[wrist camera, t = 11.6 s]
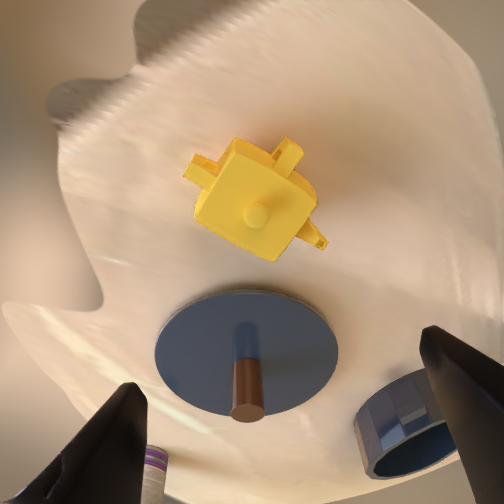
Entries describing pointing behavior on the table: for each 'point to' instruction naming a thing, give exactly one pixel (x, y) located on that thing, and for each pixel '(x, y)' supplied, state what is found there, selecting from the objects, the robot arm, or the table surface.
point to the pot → (402, 429)
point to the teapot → (256, 198)
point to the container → (154, 475)
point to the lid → (246, 353)
